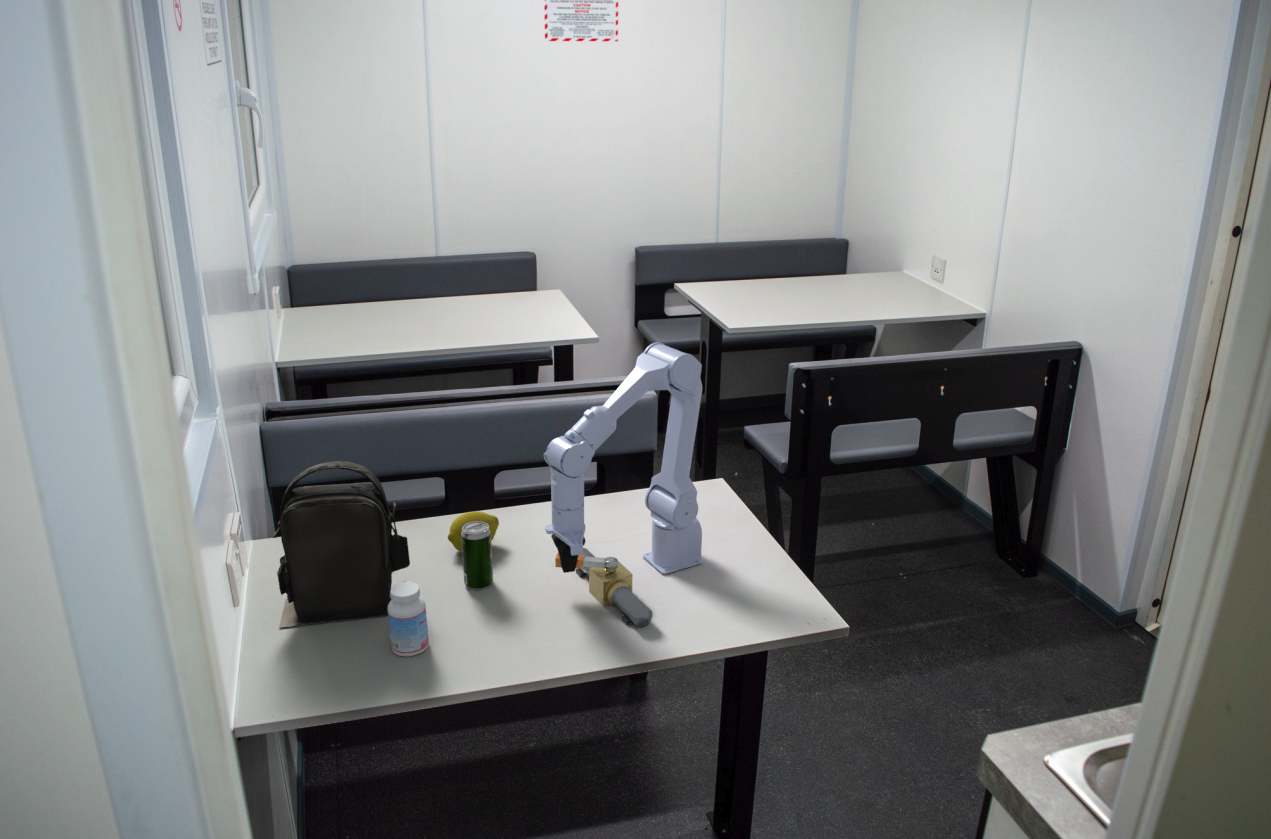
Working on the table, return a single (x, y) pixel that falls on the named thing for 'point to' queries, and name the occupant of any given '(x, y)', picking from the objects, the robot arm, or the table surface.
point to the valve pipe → (616, 592)
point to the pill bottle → (407, 620)
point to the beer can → (477, 556)
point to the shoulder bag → (337, 549)
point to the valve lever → (593, 562)
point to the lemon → (467, 518)
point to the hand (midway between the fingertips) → (568, 571)
